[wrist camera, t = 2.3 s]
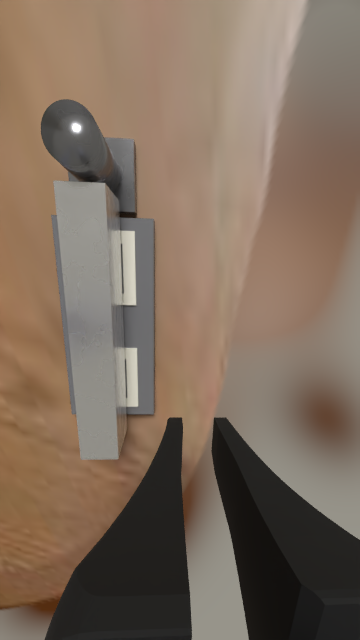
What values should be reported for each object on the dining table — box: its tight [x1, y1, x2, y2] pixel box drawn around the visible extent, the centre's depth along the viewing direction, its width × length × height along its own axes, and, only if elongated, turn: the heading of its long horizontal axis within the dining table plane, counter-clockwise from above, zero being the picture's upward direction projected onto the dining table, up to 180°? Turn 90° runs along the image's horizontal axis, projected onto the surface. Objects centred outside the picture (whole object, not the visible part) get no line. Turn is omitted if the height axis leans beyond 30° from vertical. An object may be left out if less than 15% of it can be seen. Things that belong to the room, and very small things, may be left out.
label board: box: [51, 215, 155, 414], centre depth 19 cm, size 18×8×1 cm, turn 178°
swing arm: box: [53, 181, 127, 460], centre depth 17 cm, size 20×3×3 cm, turn 178°
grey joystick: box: [41, 100, 137, 214], centre depth 14 cm, size 5×5×6 cm
